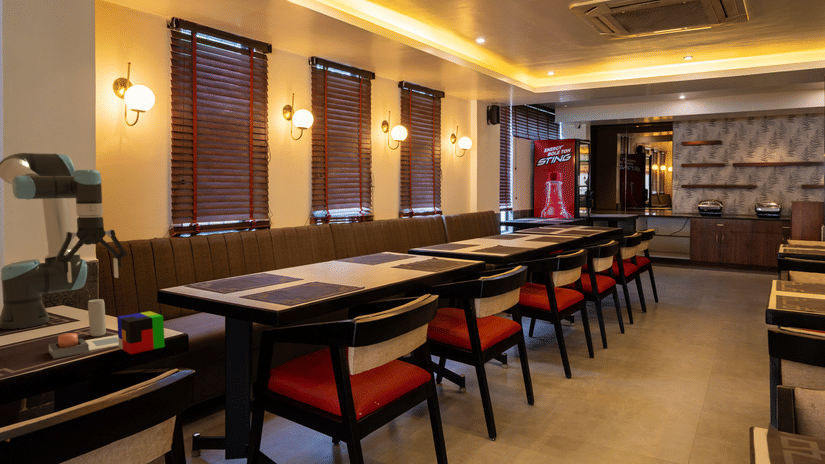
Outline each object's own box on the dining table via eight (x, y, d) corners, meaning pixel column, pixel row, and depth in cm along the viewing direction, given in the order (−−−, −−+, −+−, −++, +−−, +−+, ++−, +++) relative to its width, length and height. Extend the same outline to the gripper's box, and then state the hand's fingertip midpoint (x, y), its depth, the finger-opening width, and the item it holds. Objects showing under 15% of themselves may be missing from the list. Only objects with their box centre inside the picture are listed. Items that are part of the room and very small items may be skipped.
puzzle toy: (118, 348, 167) (117, 316, 167) (151, 341, 175) (150, 311, 174) (130, 354, 161) (129, 322, 160) (164, 347, 168) (163, 315, 167)
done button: (57, 346, 163) (56, 335, 163) (76, 343, 167) (75, 332, 166) (60, 349, 160) (59, 338, 159) (79, 346, 163) (78, 335, 163)
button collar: (49, 351, 164) (48, 344, 163) (82, 345, 170) (82, 338, 169) (53, 358, 157) (53, 350, 157) (88, 352, 163) (88, 344, 163)
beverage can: (98, 337, 180) (96, 302, 179) (86, 336, 181) (84, 301, 180) (109, 333, 184) (107, 299, 183) (97, 332, 185) (95, 298, 184)
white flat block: (81, 342, 174) (81, 340, 174) (122, 335, 182) (121, 334, 182) (89, 350, 164) (89, 349, 164) (132, 343, 172) (132, 342, 172)
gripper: (46, 218, 166) (50, 285, 168) (134, 215, 182) (137, 276, 184) (43, 217, 171) (47, 282, 173) (128, 214, 188) (131, 274, 190)
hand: (93, 279), depth 179 cm, fingers open, 13 cm apart
